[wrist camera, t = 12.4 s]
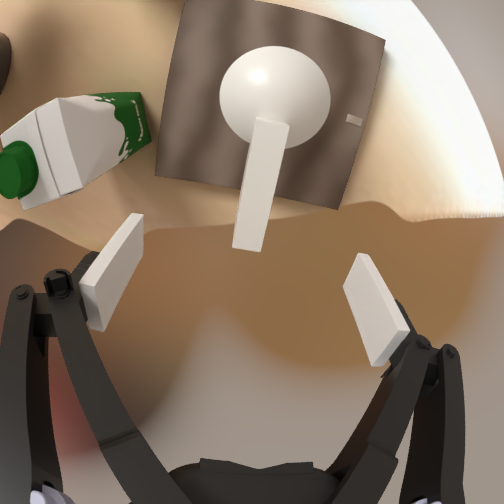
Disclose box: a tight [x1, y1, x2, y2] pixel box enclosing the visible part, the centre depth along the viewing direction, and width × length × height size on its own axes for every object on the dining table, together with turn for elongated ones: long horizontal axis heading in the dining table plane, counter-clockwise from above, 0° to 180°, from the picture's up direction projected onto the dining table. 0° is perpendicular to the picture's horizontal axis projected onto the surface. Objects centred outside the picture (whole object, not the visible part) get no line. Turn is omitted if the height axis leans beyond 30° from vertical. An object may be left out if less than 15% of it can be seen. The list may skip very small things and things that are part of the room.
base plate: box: [155, 0, 386, 210], centre depth 30 cm, size 24×24×2 cm
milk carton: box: [0, 92, 152, 211], centre depth 23 cm, size 9×9×20 cm
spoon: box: [220, 46, 331, 252], centre depth 23 cm, size 18×9×6 cm, turn 169°
